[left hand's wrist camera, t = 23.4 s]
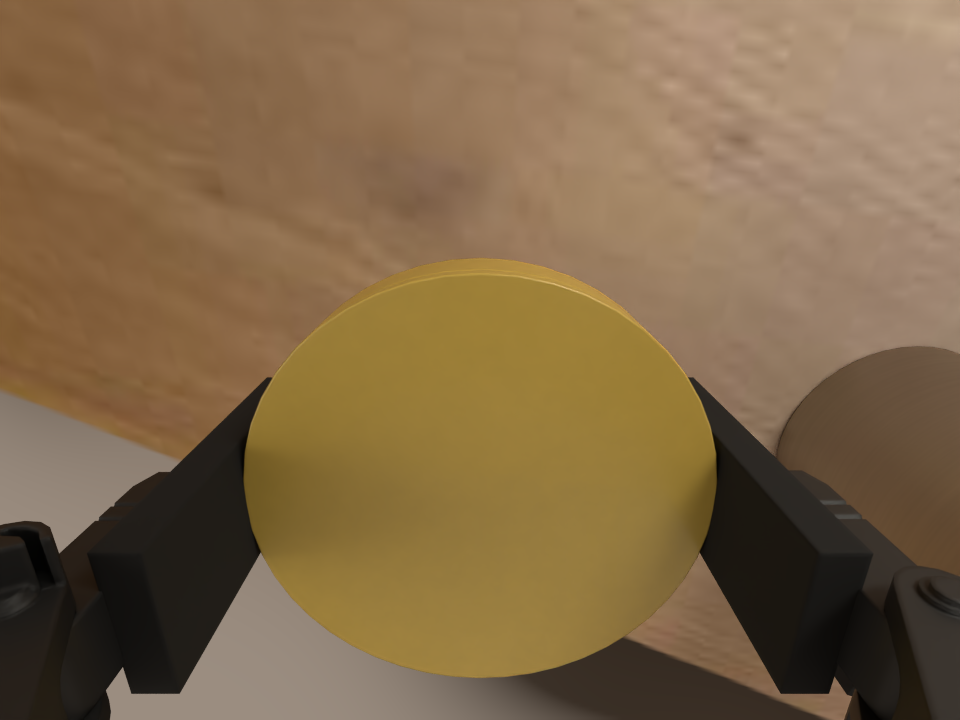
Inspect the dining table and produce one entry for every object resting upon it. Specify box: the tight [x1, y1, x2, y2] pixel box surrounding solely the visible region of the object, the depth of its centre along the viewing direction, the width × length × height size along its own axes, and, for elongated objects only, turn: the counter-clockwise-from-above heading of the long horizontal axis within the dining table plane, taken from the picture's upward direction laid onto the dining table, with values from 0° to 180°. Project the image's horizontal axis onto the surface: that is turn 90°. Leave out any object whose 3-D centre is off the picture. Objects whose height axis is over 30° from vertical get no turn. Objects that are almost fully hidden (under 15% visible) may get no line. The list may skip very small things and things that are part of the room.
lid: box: [243, 258, 717, 678], centre depth 11 cm, size 10×10×2 cm
